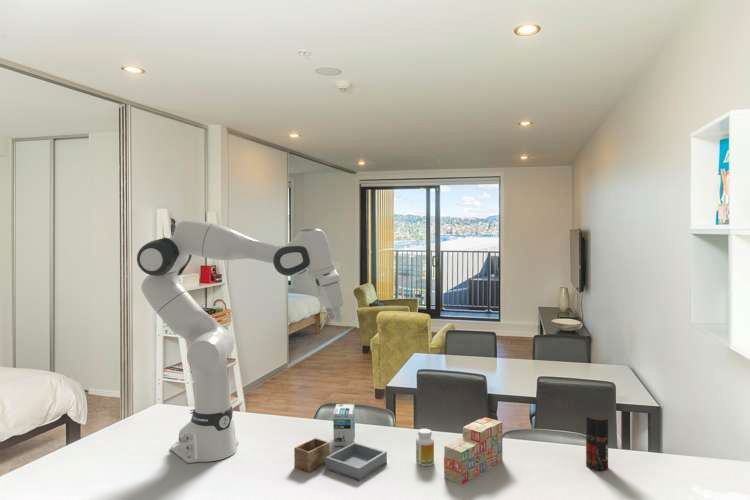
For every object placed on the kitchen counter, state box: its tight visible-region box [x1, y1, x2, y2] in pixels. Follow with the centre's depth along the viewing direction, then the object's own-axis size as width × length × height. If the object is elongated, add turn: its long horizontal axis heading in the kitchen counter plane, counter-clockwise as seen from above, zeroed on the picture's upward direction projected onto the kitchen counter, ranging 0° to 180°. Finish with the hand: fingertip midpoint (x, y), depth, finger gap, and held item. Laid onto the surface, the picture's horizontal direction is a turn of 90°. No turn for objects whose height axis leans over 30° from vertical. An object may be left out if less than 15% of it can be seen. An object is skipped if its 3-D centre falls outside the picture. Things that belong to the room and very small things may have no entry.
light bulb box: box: [332, 403, 356, 447], centre depth 167 cm, size 11×7×11 cm, turn 179°
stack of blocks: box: [443, 417, 504, 485], centre depth 145 cm, size 21×6×12 cm, turn 135°
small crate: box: [293, 437, 331, 474], centre depth 148 cm, size 9×6×6 cm, turn 144°
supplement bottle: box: [415, 428, 435, 467], centre depth 149 cm, size 5×5×10 cm
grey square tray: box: [325, 441, 388, 482], centre depth 147 cm, size 13×14×4 cm
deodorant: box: [585, 412, 609, 472], centre depth 146 cm, size 6×6×15 cm
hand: (335, 320), depth 155 cm, fingers open, 8 cm apart
